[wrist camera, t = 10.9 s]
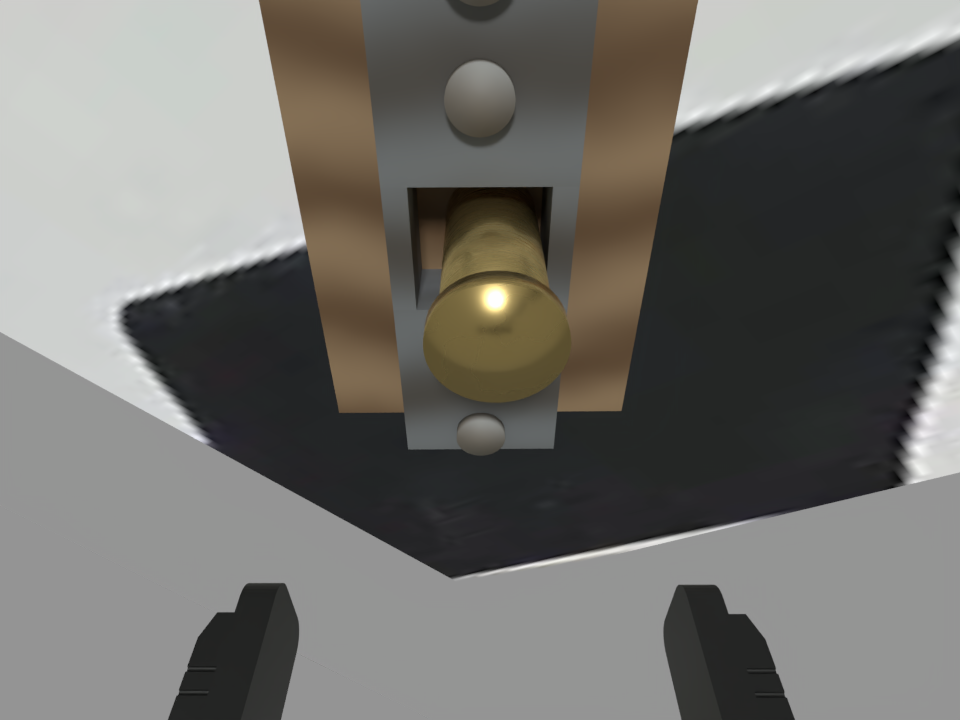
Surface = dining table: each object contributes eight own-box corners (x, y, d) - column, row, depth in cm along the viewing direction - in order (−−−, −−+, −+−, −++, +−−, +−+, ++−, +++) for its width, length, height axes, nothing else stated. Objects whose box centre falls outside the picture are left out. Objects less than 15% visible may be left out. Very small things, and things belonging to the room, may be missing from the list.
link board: (245, -125, 21) (189, -125, 17) (711, -127, 21) (768, -127, 17) (342, 398, 36) (325, 467, 32) (617, 396, 36) (636, 465, 32)
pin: (434, 163, 26) (418, 284, 19) (547, 163, 26) (578, 283, 19) (439, 263, 29) (427, 403, 22) (541, 263, 29) (565, 402, 22)
